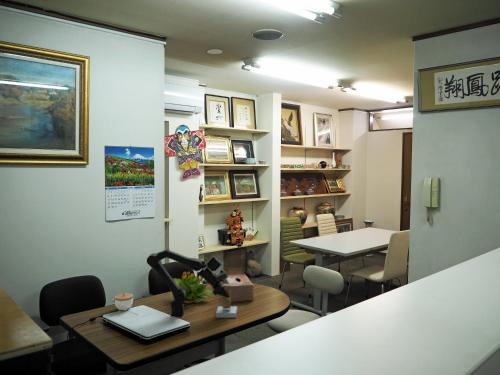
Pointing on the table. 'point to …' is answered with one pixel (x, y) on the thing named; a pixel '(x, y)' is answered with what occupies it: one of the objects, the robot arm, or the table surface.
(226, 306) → the walnut block
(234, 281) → the tissue box cover
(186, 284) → the potted flower
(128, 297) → the lidded jar
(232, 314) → the slate base
